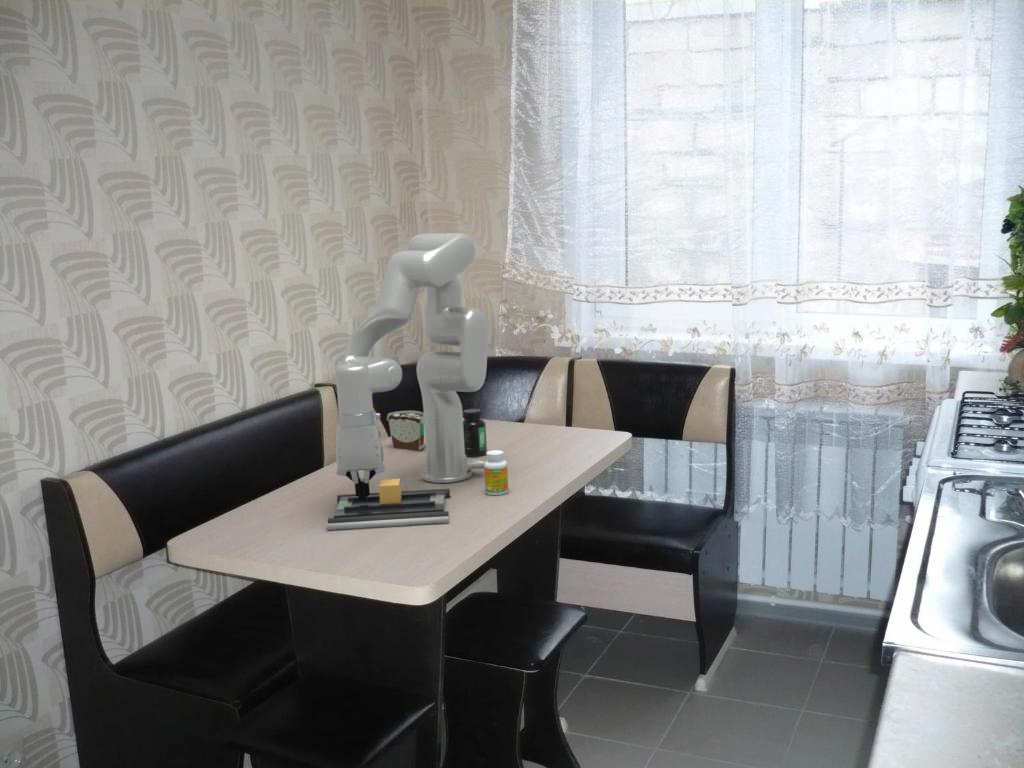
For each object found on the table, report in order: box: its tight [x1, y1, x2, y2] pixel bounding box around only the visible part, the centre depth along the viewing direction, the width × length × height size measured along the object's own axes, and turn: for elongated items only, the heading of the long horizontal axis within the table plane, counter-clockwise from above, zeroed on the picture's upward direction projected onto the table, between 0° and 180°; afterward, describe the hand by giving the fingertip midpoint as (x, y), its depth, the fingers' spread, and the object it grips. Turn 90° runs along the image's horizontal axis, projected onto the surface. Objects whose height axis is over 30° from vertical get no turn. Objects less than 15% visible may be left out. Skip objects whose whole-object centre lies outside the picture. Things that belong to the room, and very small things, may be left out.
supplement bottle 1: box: [462, 408, 488, 458], centre depth 282 cm, size 7×7×12 cm
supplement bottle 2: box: [483, 449, 509, 496], centre depth 247 cm, size 5×5×10 cm
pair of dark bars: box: [326, 487, 451, 531], centre depth 237 cm, size 26×20×2 cm
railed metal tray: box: [333, 491, 447, 518], centre depth 237 cm, size 24×14×3 cm, turn 92°
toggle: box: [378, 478, 402, 504], centre depth 237 cm, size 4×5×4 cm
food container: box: [386, 410, 425, 453], centre depth 293 cm, size 12×6×10 cm, turn 58°
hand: (363, 498), depth 237 cm, fingers closed
